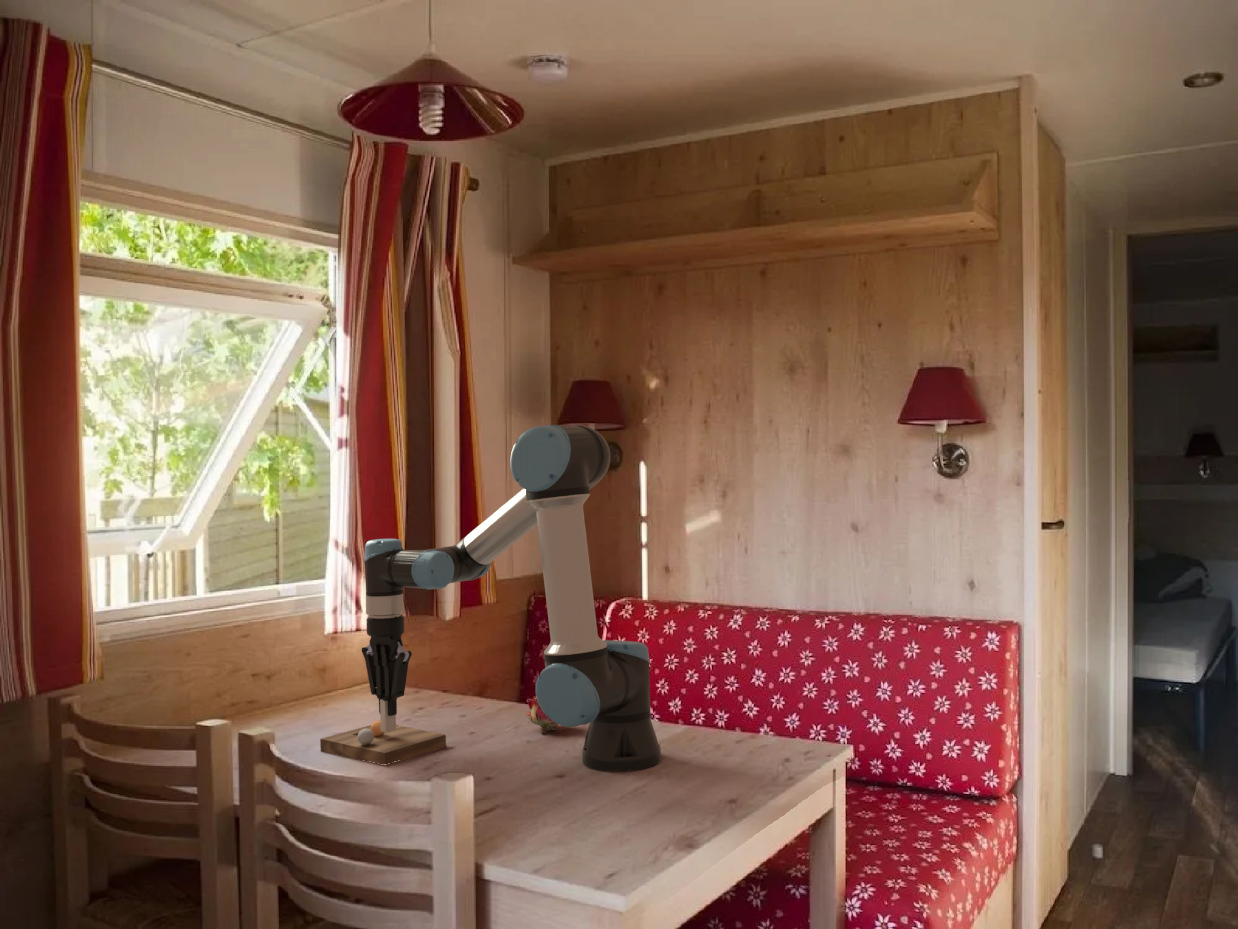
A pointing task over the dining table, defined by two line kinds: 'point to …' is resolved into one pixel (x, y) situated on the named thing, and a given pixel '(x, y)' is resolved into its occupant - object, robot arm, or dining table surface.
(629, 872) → the dining table surface
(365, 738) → the grey ball
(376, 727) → the ball
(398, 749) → the board
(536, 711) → the flower
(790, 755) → the dining table surface
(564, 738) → the dining table surface
